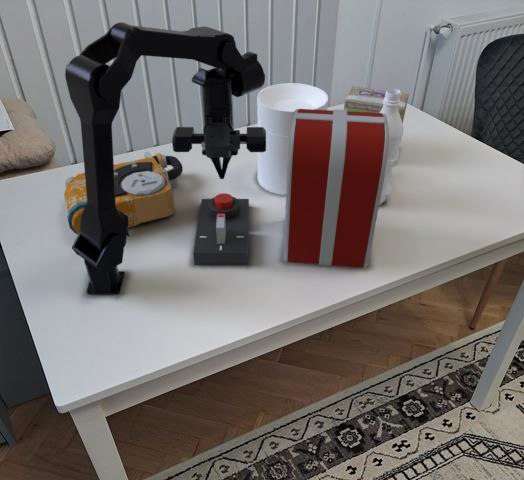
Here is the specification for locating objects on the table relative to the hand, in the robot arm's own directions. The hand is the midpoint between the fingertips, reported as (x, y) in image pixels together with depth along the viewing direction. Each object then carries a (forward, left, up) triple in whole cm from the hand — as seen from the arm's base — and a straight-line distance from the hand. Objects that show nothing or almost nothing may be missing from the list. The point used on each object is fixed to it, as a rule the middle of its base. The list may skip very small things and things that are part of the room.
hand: (222, 178), depth 112 cm
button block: (0, 0, -10) cm, 10 cm away
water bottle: (+8, -36, -10) cm, 38 cm away
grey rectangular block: (-11, 0, -7) cm, 13 cm away
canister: (+18, -16, -10) cm, 26 cm away
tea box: (+32, -38, -10) cm, 50 cm away
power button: (0, 0, -7) cm, 7 cm away
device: (+6, +22, -10) cm, 25 cm away
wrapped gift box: (-9, -23, -10) cm, 26 cm away
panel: (-11, 0, -10) cm, 15 cm away
